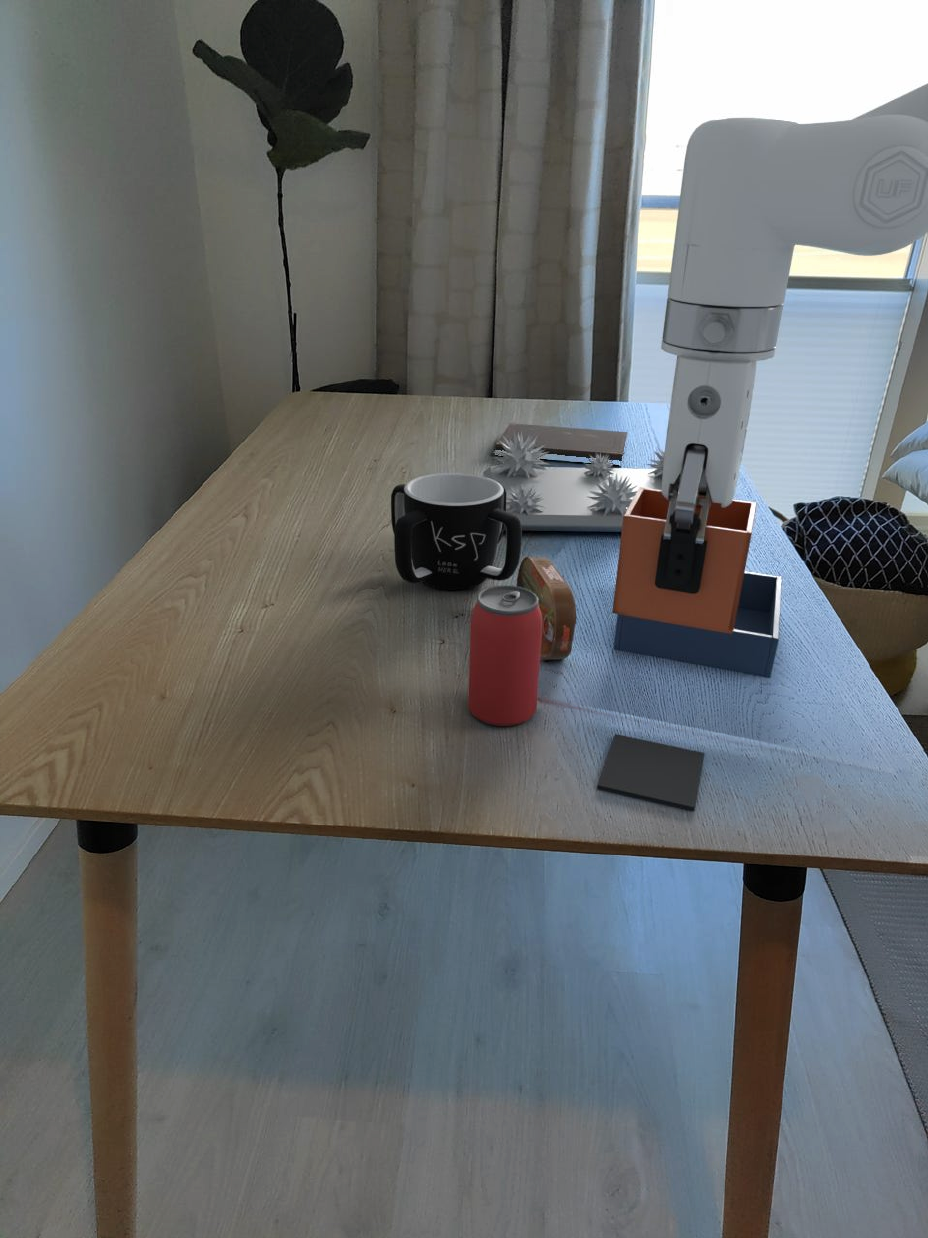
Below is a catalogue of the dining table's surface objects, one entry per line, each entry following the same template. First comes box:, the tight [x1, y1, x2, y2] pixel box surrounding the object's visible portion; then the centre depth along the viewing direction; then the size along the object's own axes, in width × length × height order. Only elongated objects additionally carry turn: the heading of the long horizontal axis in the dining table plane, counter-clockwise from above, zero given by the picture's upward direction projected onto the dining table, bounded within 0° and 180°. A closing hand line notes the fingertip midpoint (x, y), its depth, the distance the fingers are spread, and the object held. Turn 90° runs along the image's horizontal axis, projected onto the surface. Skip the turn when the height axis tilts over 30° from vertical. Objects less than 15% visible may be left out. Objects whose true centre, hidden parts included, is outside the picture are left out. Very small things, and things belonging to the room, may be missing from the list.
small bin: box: [611, 488, 758, 634], centre depth 66 cm, size 9×7×8 cm
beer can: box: [467, 584, 543, 727], centre depth 79 cm, size 7×7×12 cm
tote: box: [613, 570, 783, 679], centre depth 96 cm, size 16×16×5 cm
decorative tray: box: [482, 430, 679, 533], centre depth 131 cm, size 35×26×10 cm
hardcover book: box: [494, 422, 628, 462], centre depth 161 cm, size 16×23×2 cm
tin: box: [516, 556, 577, 662], centre depth 93 cm, size 15×3×8 cm, turn 10°
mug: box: [390, 472, 523, 591], centre depth 106 cm, size 16×16×12 cm
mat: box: [596, 733, 705, 812], centre depth 74 cm, size 8×8×1 cm
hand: (683, 567), depth 66 cm, fingers closed on small bin, 7 cm apart
